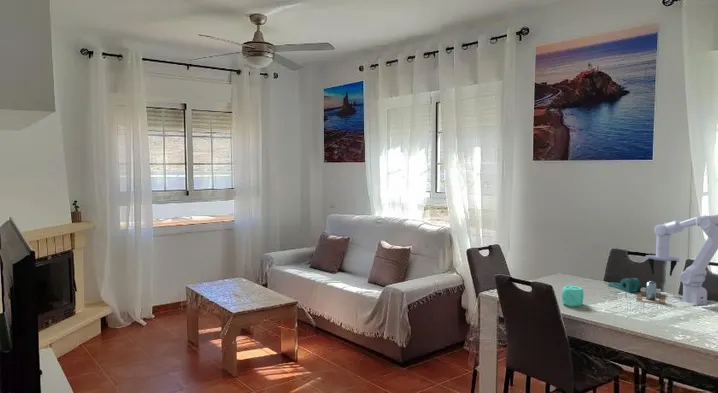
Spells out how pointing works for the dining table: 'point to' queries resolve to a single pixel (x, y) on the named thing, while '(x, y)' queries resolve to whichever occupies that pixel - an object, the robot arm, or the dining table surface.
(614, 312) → the dining table surface
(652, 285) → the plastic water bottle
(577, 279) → the dining table surface
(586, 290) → the dining table surface
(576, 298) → the decorative dice
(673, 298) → the dining table surface
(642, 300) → the housing plate
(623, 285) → the bracket
